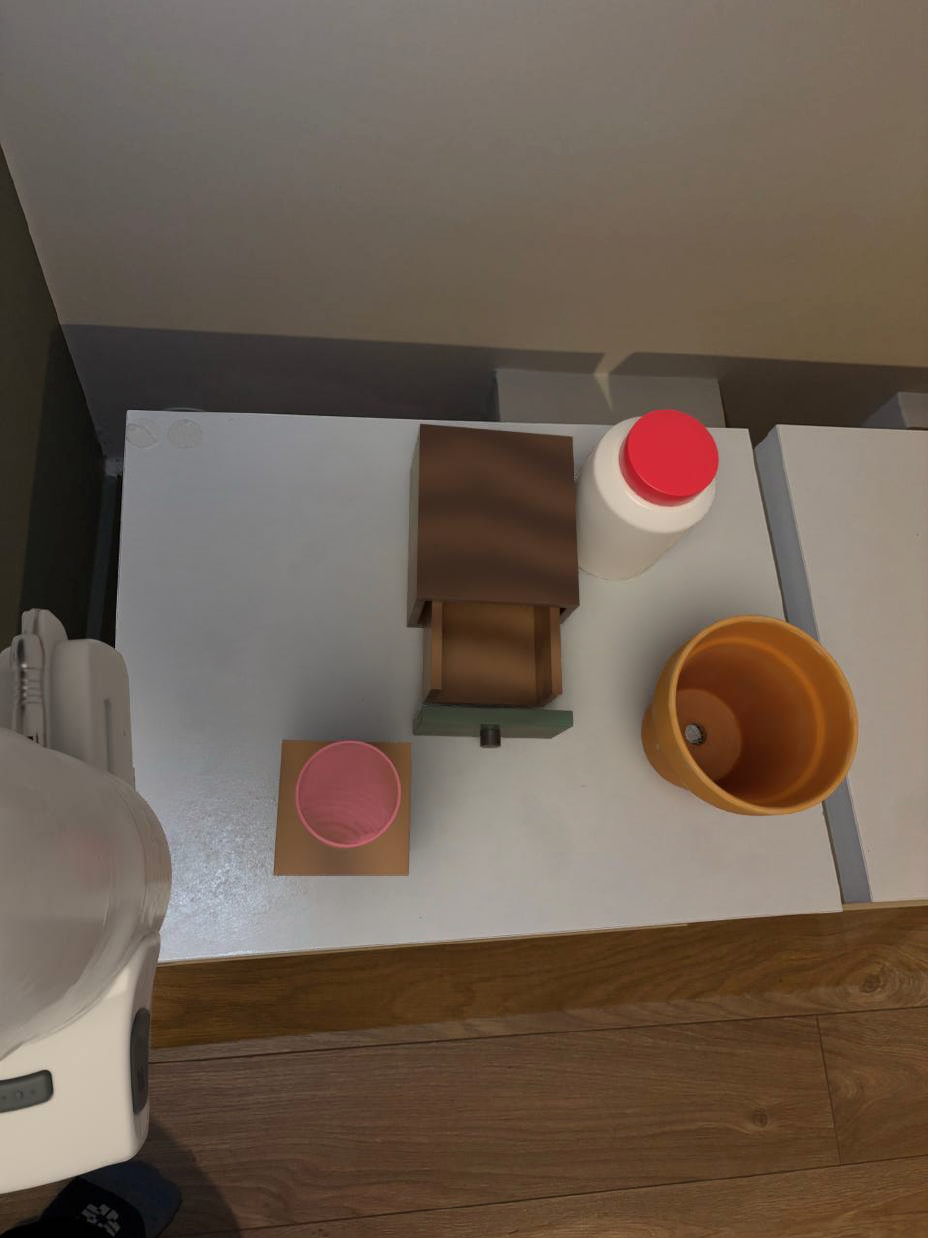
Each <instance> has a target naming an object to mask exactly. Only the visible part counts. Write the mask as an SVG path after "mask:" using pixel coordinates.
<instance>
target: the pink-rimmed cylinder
mask: <svg viewBox="0 0 928 1238" xmlns="http://www.w3.org/2000/svg"><path fill="white" fill-rule="evenodd" d="M338 741H339V742H335V743H332V744H329V745H327V746H325V747H323V748H321V749H320V750H318V751H317V752H316V753H314V754H313V755H312V756H311V757H310V758H309V759H308V761H307V762H306V763H305V765H304V766H303V768H302V770H301V772H300V774H299V776H298V779H297V783H296V789H295V802H296V808H297V812H298V815H299V817H300V819H301V821H302V823H303V824H304V826H305V827H306V829H307V830H308V831H309V832H310V833H311V834H312V835H313V836H314V837H315V838H316V839H317V840H318V841H319V842H321V843H322V844H324V845H326V846H328V847H331V848H334V849H342V850H344V849H352V848H356V847H359V846H362V845H365V844H368V843H370V842H372V841H374V840H375V839H377V838H378V837H380V836H381V835H382V834H383V833H384V832H385V831H386V830H387V829H388V828H389V827H390V825H391V824H392V822H393V821H394V819H395V817H396V815H397V813H398V810H399V807H400V802H401V783H400V778H399V775H398V772H397V770H396V768H395V766H394V765H393V763H392V761H391V760H390V759H389V758H388V757H387V756H386V755H385V754H384V753H383V752H382V751H381V750H379V749H378V748H376V747H374V746H372V745H370V744H367V743H365V742H366V741H361V740H353V739H351V740H350V739H348V740H347V739H346V740H338Z"/></svg>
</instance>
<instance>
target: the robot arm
mask: <svg viewBox="0 0 928 1238" xmlns="http://www.w3.org/2000/svg"><path fill="white" fill-rule="evenodd" d="M130 694H131V693H130V678H129V672H128V668H127V665H126V662H125V659H124V656H123V655H122V653H121V652H120V651H118V650H117V649H116V648H114V647H113V646H111V645H109V644H108V643H106V642H103V641H101V640H98V639H94V638H79V639H69V638H68V635H67V633H66V629H65V627H64V625H63V623H62V622H61V620H60V619H59V618H58V617H56V616H55V614H53V613H52V612H51V611H50V610H48V609H42V608H40V607H34V608H31V609H30V610H26V611H23V613H22V615H21V634H18V635H16V636H14V637H13V638H12V641H11V643H10V646H8V647H7V648H5V649H3V650H1V652H0V1195H2V1194H8V1193H13V1192H17V1191H22V1190H23V1191H24V1190H27V1189H32V1188H36V1187H40V1186H43V1185H47V1184H52V1183H55V1182H60V1181H63V1180H67V1179H70V1178H72V1177H77V1176H80V1175H83V1174H86V1173H90V1172H91V1171H96V1170H98V1169H101V1168H105V1167H107V1166H111V1165H116V1164H119V1163H124V1162H127V1161H129V1160H131V1159H132V1158H134V1157H135V1156H136V1155H137V1153H138V1152H139V1151H140V1150H141V1149H142V1147H143V1145H144V1143H145V1142H146V1139H147V1137H148V1134H149V1126H150V1125H149V1124H150V1096H149V1045H150V1028H151V1011H150V1007H151V1006H150V1005H151V998H152V993H153V987H154V980H155V977H156V972H157V966H158V962H159V958H160V953H161V946H162V945H161V944H162V936H161V933H160V932H161V929H162V926H163V924H164V921H165V918H166V916H167V912H168V909H169V903H170V900H171V899H170V898H171V892H172V886H173V885H172V884H173V868H172V867H173V866H172V857H171V851H170V846H169V843H168V839H167V836H166V833H165V830H164V829H163V826H162V824H161V822H160V821H161V820H159V817H158V816H157V814H156V812H155V811H154V810H153V808H152V807H151V805H150V804H149V803H148V801H146V799H145V798H144V797H143V796H142V795H141V794H140V793H139V791H137V790H136V768H135V767H134V761H133V759H134V758H133V740H132V721H131V720H132V718H131V717H132V716H131V697H130V696H131V695H130Z"/></svg>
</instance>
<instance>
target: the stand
mask: <svg viewBox="0 0 928 1238" xmlns="http://www.w3.org/2000/svg"><path fill="white" fill-rule="evenodd" d="M339 741H340V740H311V739H310V740H309V739H282V741H281V752H280V753H281V754H280V767H279V783H278V796H277V809H276V825H275V826H276V828H275V842H274V856H273V871H272V875H273V876H274V877H408V876H409V875H410V840H411V839H410V837H411V836H410V834H411V833H410V832H411V791H412V788H411V787H412V747H413V746H412V743H411V742H393V741H392V742H391V741H389V742H387V741H364V742H365V743H367V744H370V745H372V746H374V747H376V748H378V749H379V750H381V751H382V752H383V753H384V754H385V755H386V756H387V757H388V758H389V759H390V760H391V761H392V763H393V765H394V766H395V768H396V770H397V772H398V775H399V778H400V783H401V802H400V807H399V810H398V813H397V815H396V817H395V819H394V821H393V822H392V824H391V825H390V827H389V828H388V829H387V830H386V831H385V832H384V833H383V834H382V835H381V836H380V837H378V838H377V839H375V840H374V841H372V842H370V843H368V844H365V845H362V846H359V847H356V848H352V849H344V850H342V849H334V848H331V847H328V846H326V845H324V844H322V843H321V842H319V841H318V840H317V839H316V838H315V837H314V836H313V835H312V834H311V833H310V832H309V831H308V830H307V829H306V827H305V826H304V824H303V823H302V821H301V819H300V817H299V815H298V812H297V808H296V802H295V789H296V783H297V779H298V776H299V774H300V772H301V770H302V768H303V766H304V765H305V763H306V762H307V761H308V759H309V758H310V757H311V756H312V755H313V754H314V753H316V752H317V751H318V750H320V749H321V748H323V747H325V746H327V745H329V744H332V743H335V742H339Z"/></svg>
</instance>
